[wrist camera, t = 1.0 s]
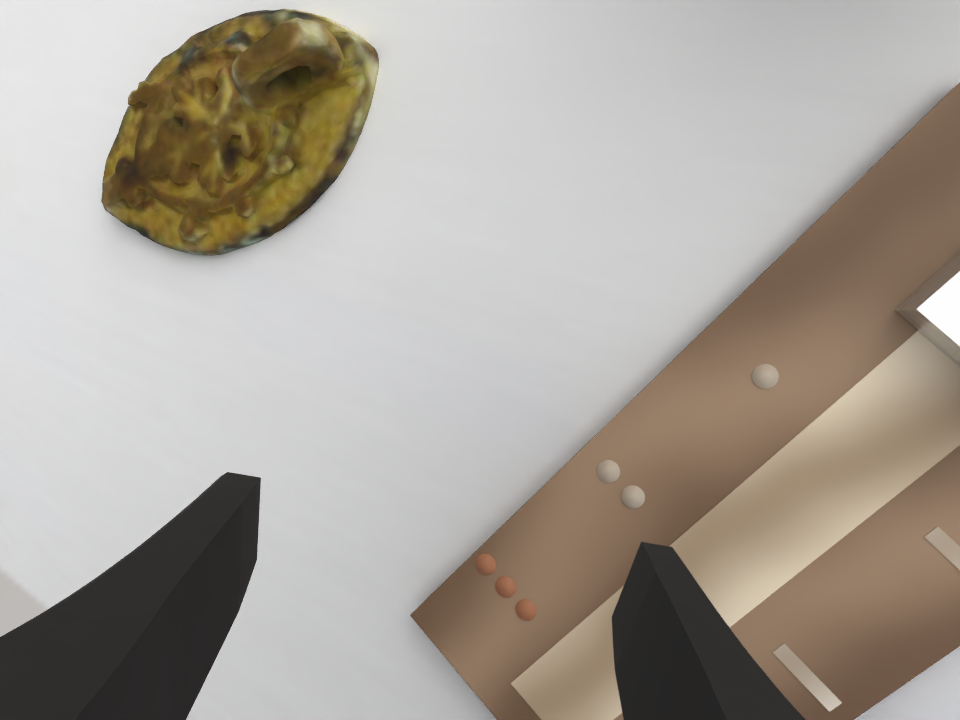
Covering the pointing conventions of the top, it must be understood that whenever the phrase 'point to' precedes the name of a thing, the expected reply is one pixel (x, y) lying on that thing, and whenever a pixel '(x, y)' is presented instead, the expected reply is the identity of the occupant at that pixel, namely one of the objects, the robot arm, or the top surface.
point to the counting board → (758, 479)
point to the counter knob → (938, 309)
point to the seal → (240, 130)
